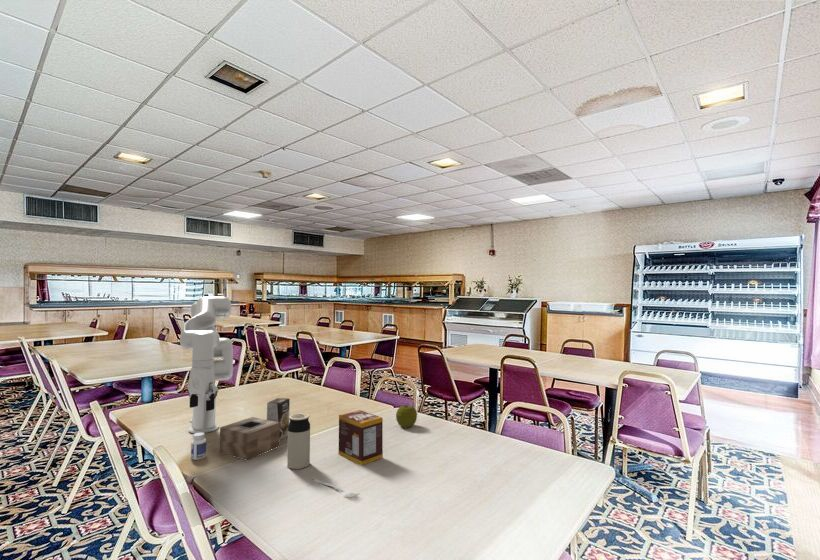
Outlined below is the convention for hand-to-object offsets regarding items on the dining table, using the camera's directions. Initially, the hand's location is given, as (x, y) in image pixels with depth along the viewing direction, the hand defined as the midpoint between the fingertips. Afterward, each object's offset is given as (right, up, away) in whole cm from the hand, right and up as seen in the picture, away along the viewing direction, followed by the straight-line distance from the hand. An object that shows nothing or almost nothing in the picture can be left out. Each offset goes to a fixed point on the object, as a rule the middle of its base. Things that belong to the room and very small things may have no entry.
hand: (201, 408), depth 159 cm
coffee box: (+23, -20, +22) cm, 37 cm away
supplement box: (+61, -19, +1) cm, 64 cm away
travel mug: (+40, -19, -8) cm, 45 cm away
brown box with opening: (+16, -19, +7) cm, 26 cm away
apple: (+79, -21, +37) cm, 90 cm away
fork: (+55, -19, -25) cm, 64 cm away
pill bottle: (-1, -19, -1) cm, 19 cm away
